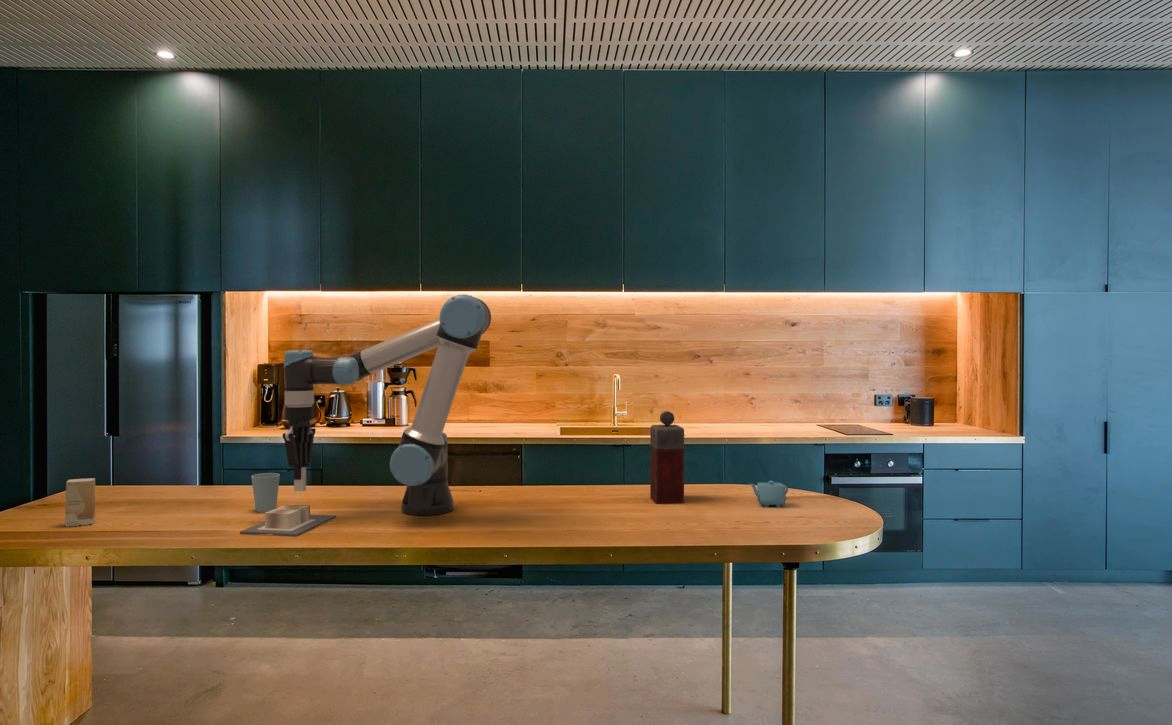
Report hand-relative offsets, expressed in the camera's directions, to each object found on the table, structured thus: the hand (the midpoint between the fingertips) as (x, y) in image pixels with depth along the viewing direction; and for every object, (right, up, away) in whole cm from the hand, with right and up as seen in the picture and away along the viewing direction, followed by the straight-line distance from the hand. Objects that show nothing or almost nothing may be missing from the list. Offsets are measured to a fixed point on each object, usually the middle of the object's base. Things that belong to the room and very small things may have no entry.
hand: (300, 490), depth 198 cm
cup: (-15, -8, +13) cm, 21 cm away
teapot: (+135, -8, +19) cm, 136 cm away
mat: (-1, -9, -5) cm, 10 cm away
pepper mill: (+105, -8, +27) cm, 108 cm away
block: (0, -6, -1) cm, 6 cm away
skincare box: (-58, -9, -4) cm, 59 cm away
